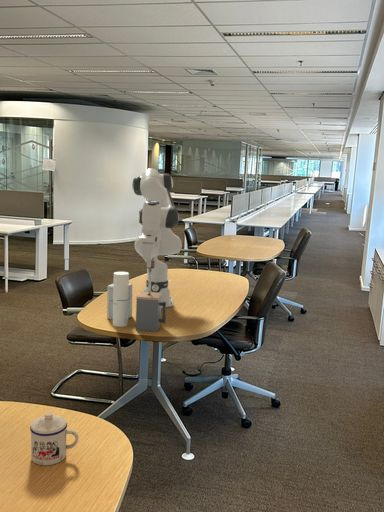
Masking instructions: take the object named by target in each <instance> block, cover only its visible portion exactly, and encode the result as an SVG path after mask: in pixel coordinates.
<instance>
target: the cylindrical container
mask: <svg viewBox="0 0 384 512" xmlns="http://www.w3.org/2000/svg"><path fill="white" fill-rule="evenodd" d="M112 284H113V319H112V326H113V327H117V328H120V327H121V328H124V327H127V326H128V324H129V318H128V294H129V284H130V273H129V272H127V271H115V272H113V283H112Z"/></svg>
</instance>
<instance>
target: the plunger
mask: <svg viewBox="0 0 384 512" xmlns="http://www.w3.org/2000/svg"><path fill="white" fill-rule="evenodd" d="M147 268H148V267H147V261H146V262H145V269H147ZM153 268H155V261H154V260H151V267H150V268H149V282H148V295H151V269H153Z"/></svg>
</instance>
